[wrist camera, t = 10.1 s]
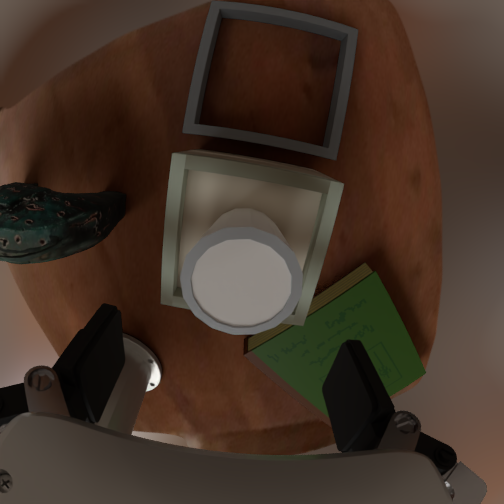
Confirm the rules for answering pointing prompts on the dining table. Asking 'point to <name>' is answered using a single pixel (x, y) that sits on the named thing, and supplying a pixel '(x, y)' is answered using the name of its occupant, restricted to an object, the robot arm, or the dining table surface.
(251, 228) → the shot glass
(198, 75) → the dark grey square frame
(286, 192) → the stand
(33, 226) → the ceramic cat
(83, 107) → the dining table surface
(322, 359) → the hardcover book
